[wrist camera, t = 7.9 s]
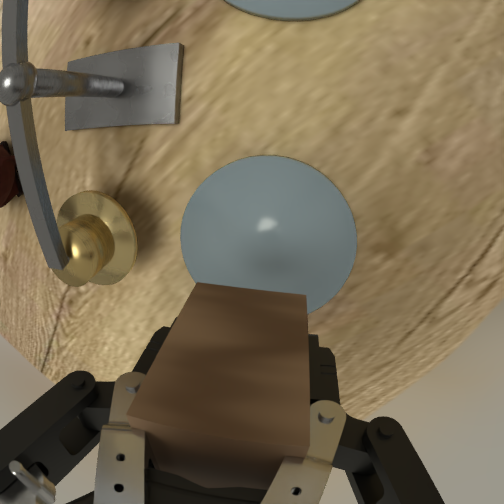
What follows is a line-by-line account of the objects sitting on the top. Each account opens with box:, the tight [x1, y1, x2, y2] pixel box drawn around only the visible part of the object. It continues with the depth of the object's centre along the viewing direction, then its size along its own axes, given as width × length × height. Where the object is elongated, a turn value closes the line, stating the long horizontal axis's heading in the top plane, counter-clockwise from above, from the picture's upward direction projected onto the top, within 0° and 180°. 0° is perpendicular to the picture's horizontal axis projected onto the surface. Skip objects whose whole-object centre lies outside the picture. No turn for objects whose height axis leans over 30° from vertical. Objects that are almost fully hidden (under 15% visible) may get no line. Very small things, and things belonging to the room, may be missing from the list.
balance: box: [0, 0, 184, 287], centre depth 14 cm, size 10×28×14 cm, turn 176°
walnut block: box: [126, 282, 310, 490], centre depth 10 cm, size 4×4×7 cm
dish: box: [180, 155, 357, 314], centre depth 23 cm, size 13×13×1 cm
